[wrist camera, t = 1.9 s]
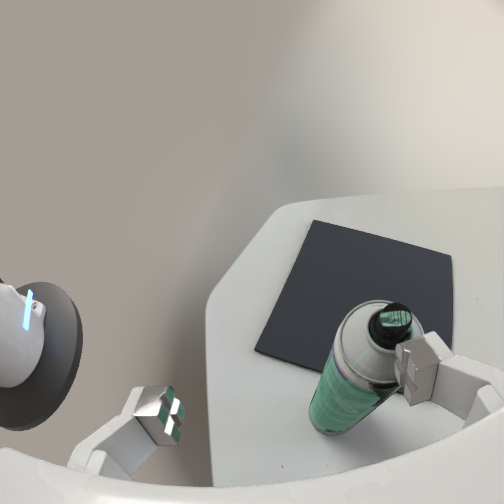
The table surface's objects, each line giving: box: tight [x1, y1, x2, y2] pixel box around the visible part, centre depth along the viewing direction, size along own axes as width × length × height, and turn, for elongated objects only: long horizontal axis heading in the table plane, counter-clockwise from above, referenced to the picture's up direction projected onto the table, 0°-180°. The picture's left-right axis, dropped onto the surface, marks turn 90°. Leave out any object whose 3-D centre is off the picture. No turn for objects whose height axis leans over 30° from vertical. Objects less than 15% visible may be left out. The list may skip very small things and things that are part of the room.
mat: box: [254, 220, 453, 394], centre depth 37 cm, size 24×24×1 cm
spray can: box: [309, 300, 424, 435], centre depth 20 cm, size 6×6×20 cm
